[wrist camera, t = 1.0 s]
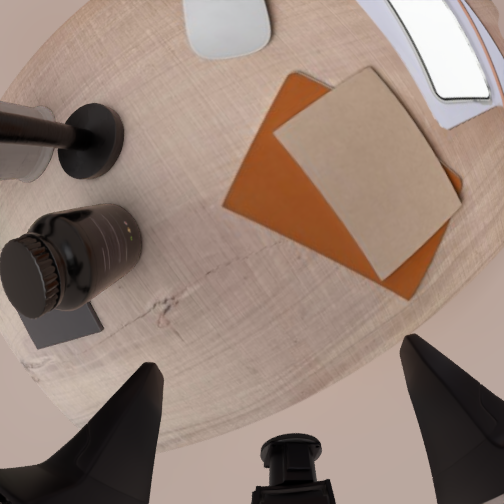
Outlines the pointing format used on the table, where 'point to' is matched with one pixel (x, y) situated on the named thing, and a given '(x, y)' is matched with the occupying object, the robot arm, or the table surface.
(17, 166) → the glass holder
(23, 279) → the supplement bottle
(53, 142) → the desk lamp
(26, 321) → the slate tile
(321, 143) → the table surface
